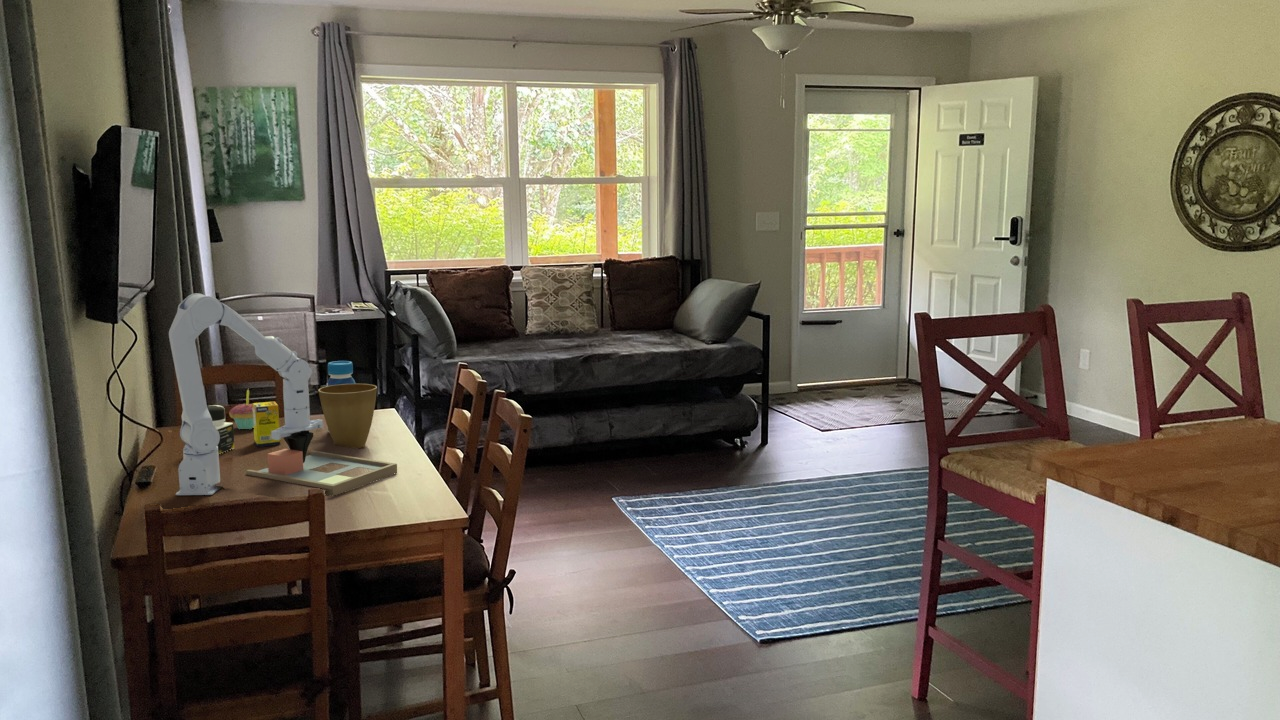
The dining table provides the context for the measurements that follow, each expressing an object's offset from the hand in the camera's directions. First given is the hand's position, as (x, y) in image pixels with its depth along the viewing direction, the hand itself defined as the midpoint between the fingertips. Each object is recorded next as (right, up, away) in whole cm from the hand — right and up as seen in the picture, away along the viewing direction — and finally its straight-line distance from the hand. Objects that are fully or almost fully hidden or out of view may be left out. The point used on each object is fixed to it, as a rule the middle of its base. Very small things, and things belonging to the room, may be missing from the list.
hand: (299, 462), depth 231 cm
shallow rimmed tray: (+6, -3, -3) cm, 7 cm away
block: (-2, -2, -4) cm, 5 cm away
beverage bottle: (-3, +4, +42) cm, 42 cm away
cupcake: (-32, +5, +46) cm, 56 cm away
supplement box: (-19, +2, +28) cm, 34 cm away
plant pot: (+4, +1, +26) cm, 26 cm away
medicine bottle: (-29, +1, +20) cm, 35 cm away
